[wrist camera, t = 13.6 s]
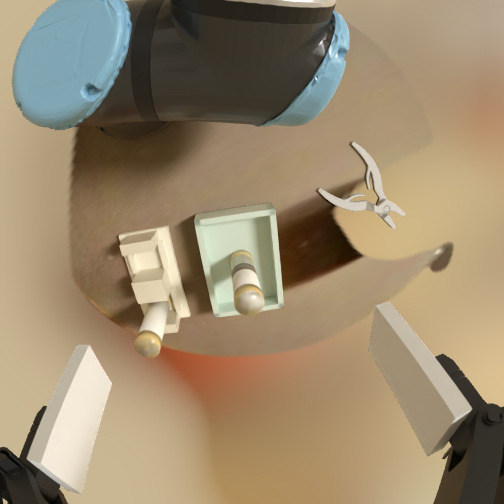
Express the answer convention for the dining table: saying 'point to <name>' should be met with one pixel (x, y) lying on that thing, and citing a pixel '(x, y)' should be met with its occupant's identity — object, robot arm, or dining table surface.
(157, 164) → the dining table surface
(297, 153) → the dining table surface
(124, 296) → the dining table surface
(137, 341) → the fuse
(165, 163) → the dining table surface
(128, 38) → the robot arm
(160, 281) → the fuse holder
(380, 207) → the pliers
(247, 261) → the fuse
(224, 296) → the parts tray
